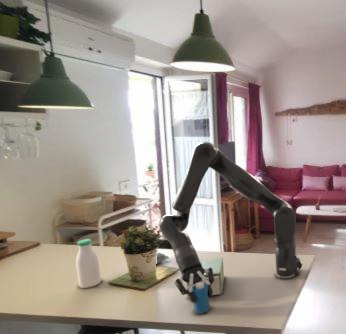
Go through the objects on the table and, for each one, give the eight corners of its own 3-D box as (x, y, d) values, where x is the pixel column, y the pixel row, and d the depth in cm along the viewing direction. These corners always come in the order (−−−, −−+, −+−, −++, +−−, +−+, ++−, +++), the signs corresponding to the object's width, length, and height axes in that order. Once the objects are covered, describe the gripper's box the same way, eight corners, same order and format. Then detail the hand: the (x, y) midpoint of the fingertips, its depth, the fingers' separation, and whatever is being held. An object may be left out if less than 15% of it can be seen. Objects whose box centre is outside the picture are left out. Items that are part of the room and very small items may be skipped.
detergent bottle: (210, 304, 129) (207, 279, 127) (208, 312, 124) (206, 285, 122) (195, 306, 128) (193, 281, 126) (193, 314, 123) (191, 288, 121)
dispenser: (221, 293, 138) (220, 272, 136) (188, 298, 134) (186, 277, 133) (224, 277, 152) (222, 257, 150) (193, 281, 148) (191, 261, 147)
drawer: (219, 299, 132) (217, 282, 130) (187, 304, 129) (185, 286, 127) (222, 278, 149) (220, 262, 147) (194, 282, 146) (192, 266, 144)
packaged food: (156, 256, 174) (155, 247, 173) (170, 261, 168) (169, 252, 167) (139, 263, 167) (138, 253, 166) (153, 268, 161) (152, 259, 160)
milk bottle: (103, 283, 147) (97, 240, 144) (81, 290, 142) (74, 245, 138) (98, 277, 152) (93, 236, 149) (77, 284, 147) (71, 241, 143)
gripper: (169, 260, 123) (185, 303, 116) (207, 249, 133) (224, 287, 127) (166, 269, 127) (181, 311, 121) (203, 257, 137) (218, 295, 131)
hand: (203, 298), depth 124 cm, fingers closed on detergent bottle, 5 cm apart
